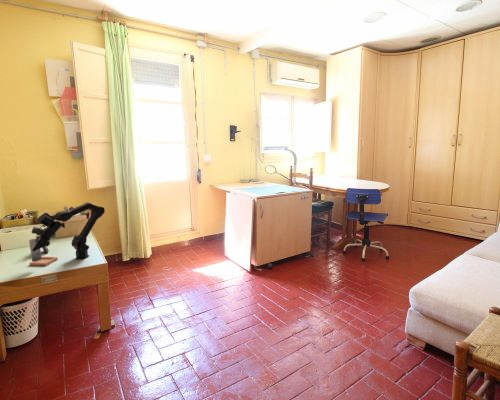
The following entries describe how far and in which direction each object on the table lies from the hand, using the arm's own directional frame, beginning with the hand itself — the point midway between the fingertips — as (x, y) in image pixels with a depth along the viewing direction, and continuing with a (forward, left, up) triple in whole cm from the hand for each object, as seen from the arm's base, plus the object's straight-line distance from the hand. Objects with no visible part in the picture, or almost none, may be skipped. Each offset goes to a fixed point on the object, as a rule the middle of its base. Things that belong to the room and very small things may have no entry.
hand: (32, 249), depth 181 cm
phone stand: (+17, -28, -14) cm, 35 cm away
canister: (-1, -1, -7) cm, 7 cm away
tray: (+3, -12, -13) cm, 18 cm away
